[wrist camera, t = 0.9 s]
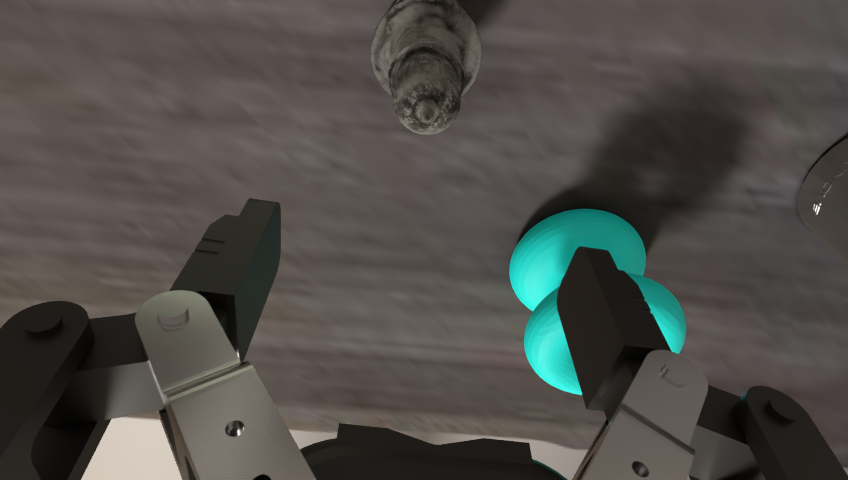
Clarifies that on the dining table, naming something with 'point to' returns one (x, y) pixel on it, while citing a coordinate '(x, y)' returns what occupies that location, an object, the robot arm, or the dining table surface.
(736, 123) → the dining table surface
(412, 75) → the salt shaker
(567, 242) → the donuts
